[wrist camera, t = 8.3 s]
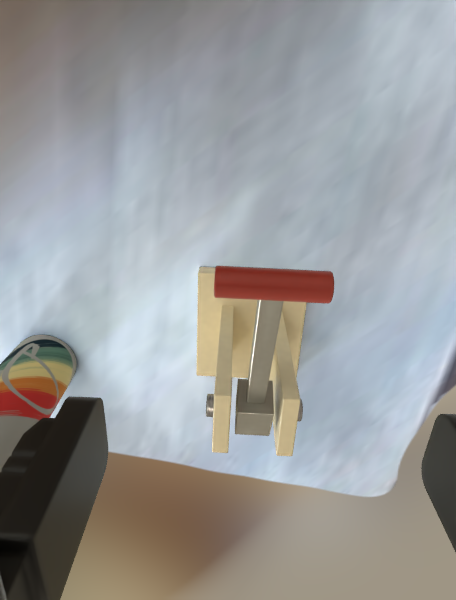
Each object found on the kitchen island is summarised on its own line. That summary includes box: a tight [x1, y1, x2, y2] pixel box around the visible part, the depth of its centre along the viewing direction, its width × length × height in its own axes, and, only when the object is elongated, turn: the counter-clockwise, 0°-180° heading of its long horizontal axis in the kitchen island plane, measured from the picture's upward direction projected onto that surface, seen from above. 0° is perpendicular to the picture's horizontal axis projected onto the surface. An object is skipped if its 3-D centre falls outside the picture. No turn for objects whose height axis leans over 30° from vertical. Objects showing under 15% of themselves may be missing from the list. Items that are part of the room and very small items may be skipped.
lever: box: [214, 266, 334, 436], centre depth 23 cm, size 13×5×2 cm, turn 177°
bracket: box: [197, 267, 307, 456], centre depth 31 cm, size 10×9×13 cm
